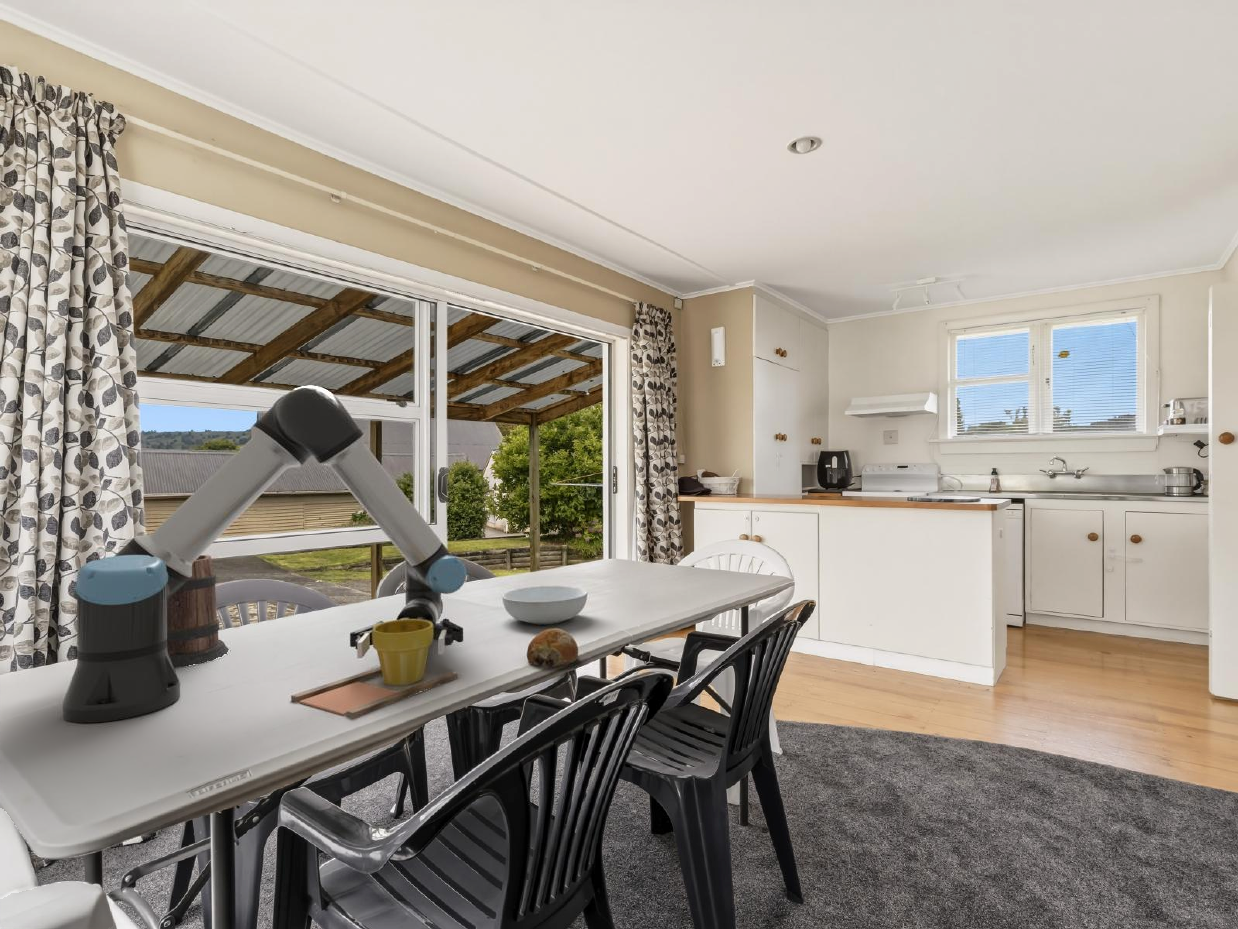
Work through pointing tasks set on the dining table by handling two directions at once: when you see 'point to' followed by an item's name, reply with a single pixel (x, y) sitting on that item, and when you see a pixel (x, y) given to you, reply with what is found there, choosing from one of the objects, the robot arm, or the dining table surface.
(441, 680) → the walnut track
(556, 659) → the bread roll
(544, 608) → the serving bowl
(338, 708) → the terracotta mat
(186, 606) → the tankard
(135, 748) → the dining table surface
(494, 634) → the dining table surface
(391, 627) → the plant pot
